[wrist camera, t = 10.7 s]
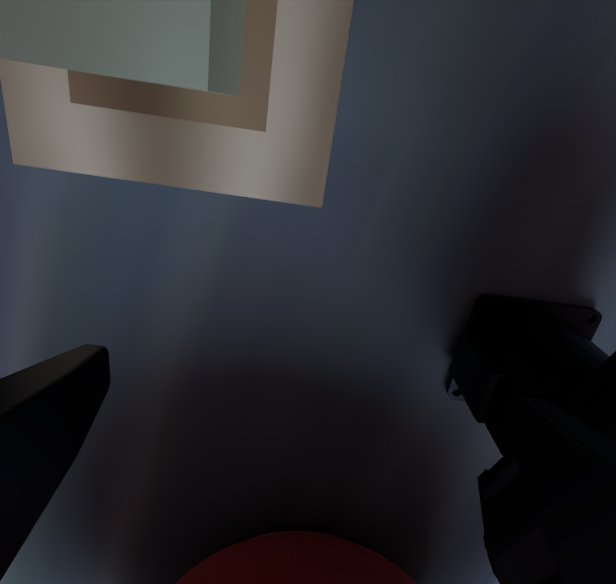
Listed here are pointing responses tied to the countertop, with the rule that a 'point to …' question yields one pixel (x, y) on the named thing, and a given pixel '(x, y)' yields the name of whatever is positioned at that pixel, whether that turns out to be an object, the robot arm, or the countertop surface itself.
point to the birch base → (198, 113)
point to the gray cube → (131, 39)
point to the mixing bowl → (296, 562)
